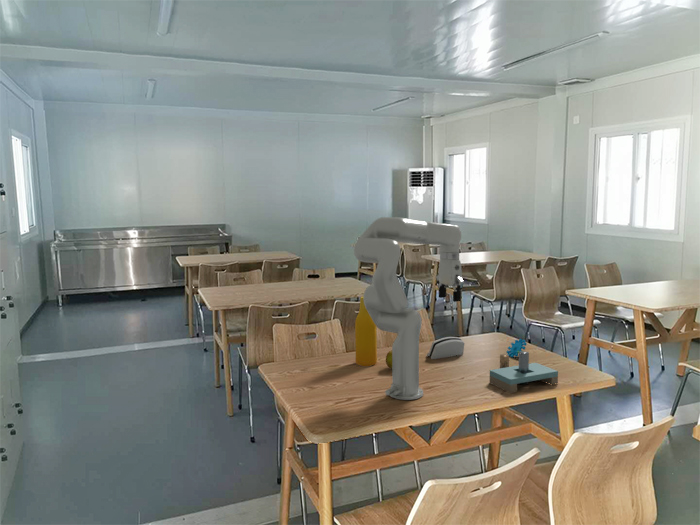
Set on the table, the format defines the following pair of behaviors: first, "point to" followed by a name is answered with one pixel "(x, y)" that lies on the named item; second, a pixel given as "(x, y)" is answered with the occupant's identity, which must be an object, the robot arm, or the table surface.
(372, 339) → the beer bottle
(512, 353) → the gear
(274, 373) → the table surface
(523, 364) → the tall pin
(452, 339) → the napkin holder
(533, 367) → the hole bridge
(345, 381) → the table surface
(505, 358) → the short pin
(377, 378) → the table surface
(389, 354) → the fruit
